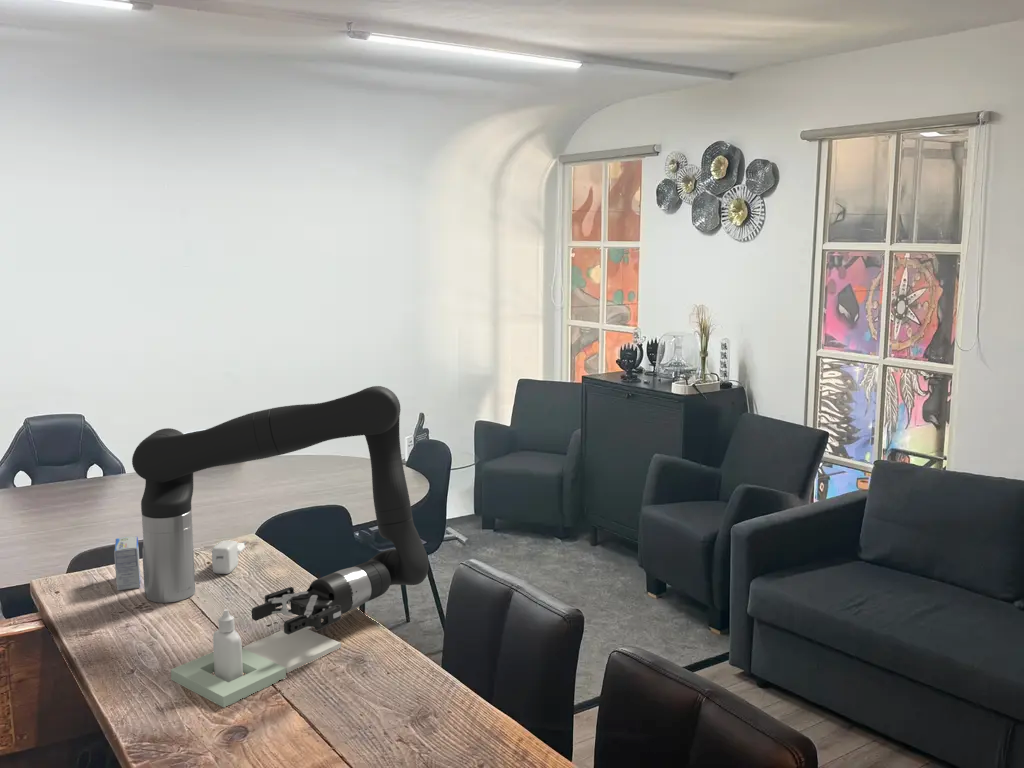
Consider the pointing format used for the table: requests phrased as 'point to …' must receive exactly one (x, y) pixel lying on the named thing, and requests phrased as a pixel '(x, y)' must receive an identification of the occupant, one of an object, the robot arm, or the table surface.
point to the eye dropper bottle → (227, 649)
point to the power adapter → (226, 556)
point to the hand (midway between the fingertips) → (268, 621)
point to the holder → (227, 693)
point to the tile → (293, 648)
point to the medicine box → (127, 563)
